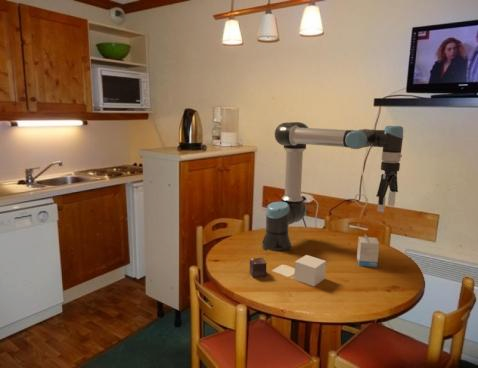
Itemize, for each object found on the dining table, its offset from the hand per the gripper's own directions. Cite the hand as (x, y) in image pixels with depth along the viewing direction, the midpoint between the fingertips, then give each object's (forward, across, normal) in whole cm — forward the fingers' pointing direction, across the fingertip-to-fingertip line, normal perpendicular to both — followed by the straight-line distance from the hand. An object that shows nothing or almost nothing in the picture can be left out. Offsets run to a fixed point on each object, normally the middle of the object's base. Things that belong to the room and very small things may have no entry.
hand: (385, 208), depth 155 cm
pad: (+27, -35, +29) cm, 53 cm away
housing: (+27, -35, +17) cm, 47 cm away
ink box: (+28, 0, +6) cm, 29 cm away
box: (+28, -46, +36) cm, 65 cm away
